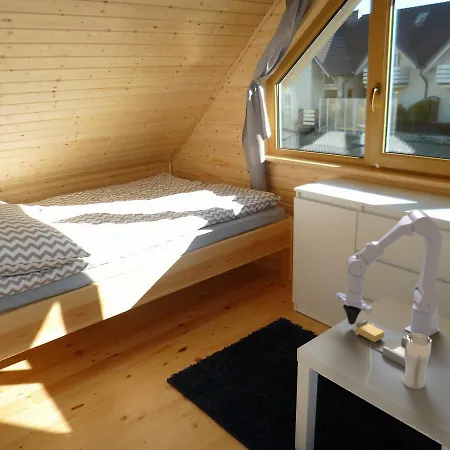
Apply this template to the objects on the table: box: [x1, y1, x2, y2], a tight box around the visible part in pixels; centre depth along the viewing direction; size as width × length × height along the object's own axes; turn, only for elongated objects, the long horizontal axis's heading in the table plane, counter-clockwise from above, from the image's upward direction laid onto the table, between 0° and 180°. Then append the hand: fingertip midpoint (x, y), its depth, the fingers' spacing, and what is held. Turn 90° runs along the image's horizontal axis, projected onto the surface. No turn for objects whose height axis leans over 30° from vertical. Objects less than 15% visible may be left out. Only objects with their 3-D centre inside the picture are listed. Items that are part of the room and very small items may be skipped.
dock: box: [371, 335, 407, 369], centre depth 153 cm, size 14×11×4 cm
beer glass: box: [402, 332, 432, 390], centre depth 136 cm, size 7×7×15 cm
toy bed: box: [355, 319, 385, 344], centre depth 162 cm, size 8×5×4 cm, turn 35°
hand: (351, 323), depth 168 cm, fingers closed
